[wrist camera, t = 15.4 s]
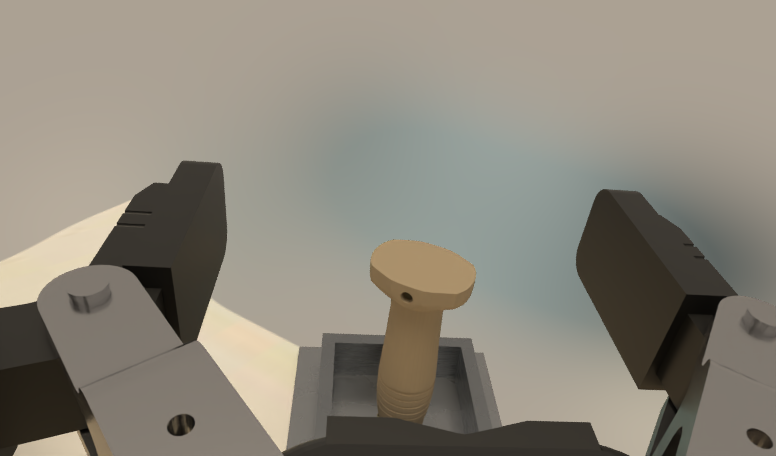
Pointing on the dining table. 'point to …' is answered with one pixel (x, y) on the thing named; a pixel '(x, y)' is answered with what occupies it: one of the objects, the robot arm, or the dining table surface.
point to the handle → (415, 320)
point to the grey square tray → (359, 386)
